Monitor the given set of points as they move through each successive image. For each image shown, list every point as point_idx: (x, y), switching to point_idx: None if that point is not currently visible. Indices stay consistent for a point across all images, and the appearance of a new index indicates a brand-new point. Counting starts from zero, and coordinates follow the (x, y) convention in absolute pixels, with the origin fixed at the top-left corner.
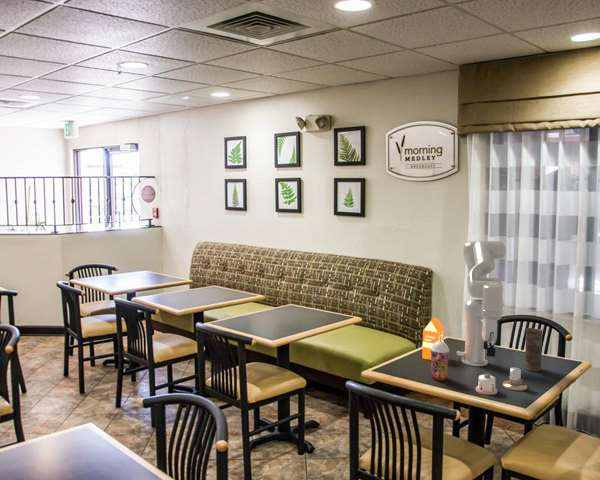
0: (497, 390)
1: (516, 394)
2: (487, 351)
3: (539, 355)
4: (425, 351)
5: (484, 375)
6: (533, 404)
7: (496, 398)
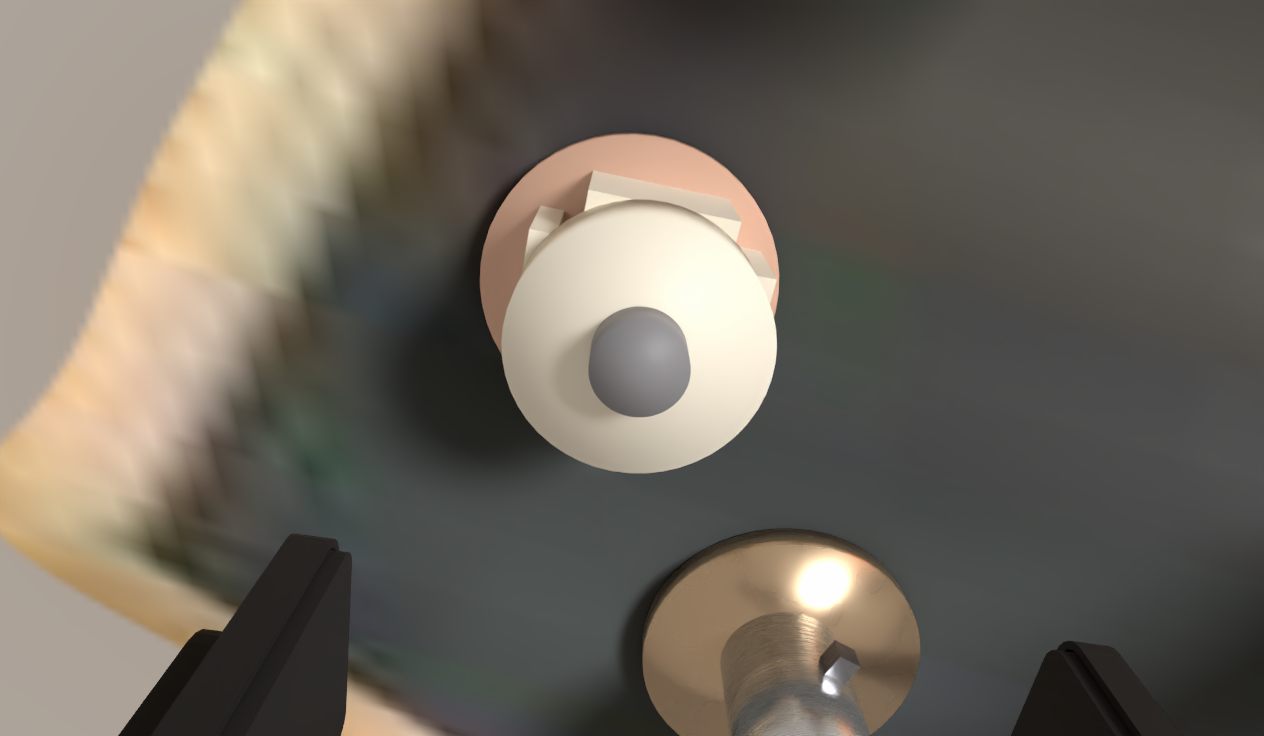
0: None
1: (532, 588)
2: (222, 651)
3: None
4: None
5: (634, 318)
6: None
7: (367, 329)
